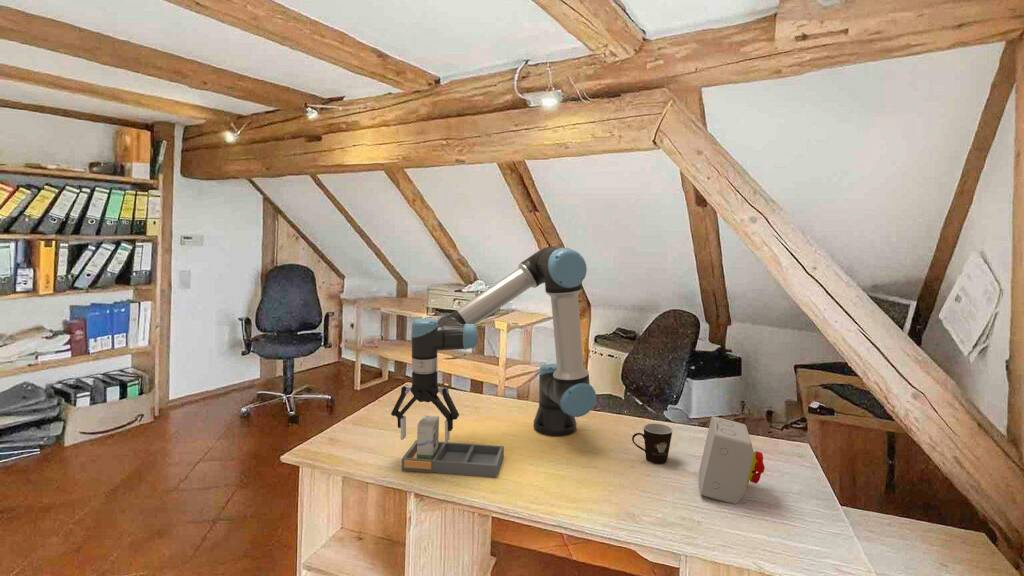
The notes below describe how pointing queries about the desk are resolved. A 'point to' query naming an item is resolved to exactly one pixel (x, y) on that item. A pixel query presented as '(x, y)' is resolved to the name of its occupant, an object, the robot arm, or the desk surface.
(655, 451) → the coffee mug
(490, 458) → the tray
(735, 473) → the electrical switch box
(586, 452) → the desk surface
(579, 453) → the desk surface
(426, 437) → the ink box
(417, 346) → the robot arm
